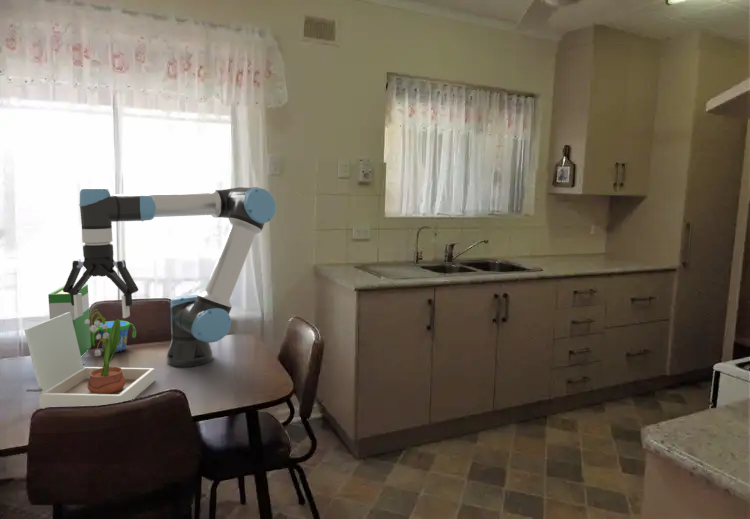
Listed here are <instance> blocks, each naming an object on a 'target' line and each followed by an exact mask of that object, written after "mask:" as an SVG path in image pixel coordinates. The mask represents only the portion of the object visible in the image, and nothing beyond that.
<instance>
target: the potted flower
mask: <svg viewBox="0 0 750 519" xmlns="http://www.w3.org/2000/svg"><path fill="white" fill-rule="evenodd" d="M96 315H97V317H96V318H95V319H93V318H94V317H95V316H96ZM89 317H91V318H90V320H89V318H88V319H86V320H85V323H84V324H89V323H90V333H91V334H92V333H93V332H94V331H97V329H96V328H97V327H98V326H101V324H100V323H103V325H102V328H101V329H102V330H104V334H103V337H102V338H104V339H101V335H100V334H99V331H97V334H95V340H99V342H98V343H97V347H96V349H95V350H94V357H95V356H96V357H98V356H101V355H102V351H101V350H100V349H99V345H100V343H101V341H102V340H105V346H104V351H103V366H102V367H103V368H99V369H96V370H93V371H92V372H90V374H89V375H90V380H89V382H88V390H89V391H90V392H91V393H94V394H111V393H114V392H117V391H119V390H120V389H122V388H123V387H124V385H125V383H126V382H125V378H124V376H123V374H122V371H123V369H121V368H122V367H118V366H110V363H111V361H112V360H113V359H112V358H113V356H114V354H115V353H116V352H115V350H116V348H117V345H118V341H119V338H120V327H121V326H120V321H121V320H120V319H119V318H117V319H115V320H113V321H114V324H113V326H112V329H111V331H110V333H107V325H106V324H105V322H106V317H104V316H103V314H102V313H101V312H100V311H99V309H98V308H95V309H94V310H93V311H92V312H91V315H89ZM99 319H101V321H100V320H99ZM93 320H94V321H93ZM93 324H94V325H93ZM99 330H100V329H99ZM114 352H115V353H114Z"/></svg>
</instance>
